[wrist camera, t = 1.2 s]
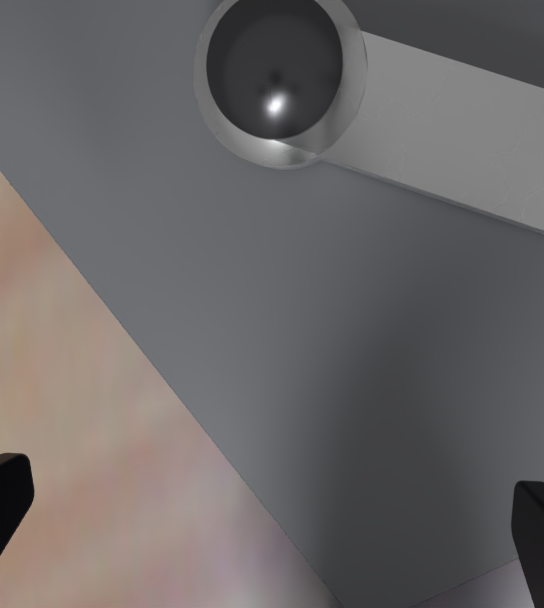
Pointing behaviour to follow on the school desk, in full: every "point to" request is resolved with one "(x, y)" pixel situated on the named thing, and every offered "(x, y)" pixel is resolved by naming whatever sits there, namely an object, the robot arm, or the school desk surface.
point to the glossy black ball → (274, 66)
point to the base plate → (298, 286)
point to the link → (410, 125)
